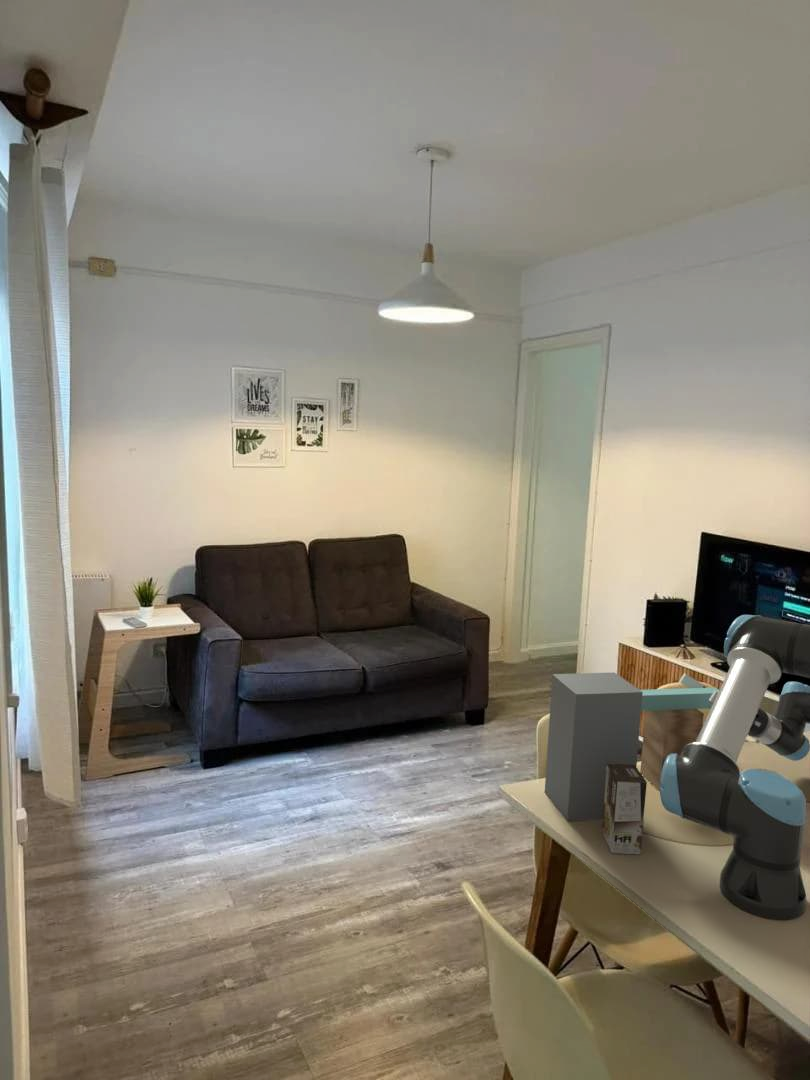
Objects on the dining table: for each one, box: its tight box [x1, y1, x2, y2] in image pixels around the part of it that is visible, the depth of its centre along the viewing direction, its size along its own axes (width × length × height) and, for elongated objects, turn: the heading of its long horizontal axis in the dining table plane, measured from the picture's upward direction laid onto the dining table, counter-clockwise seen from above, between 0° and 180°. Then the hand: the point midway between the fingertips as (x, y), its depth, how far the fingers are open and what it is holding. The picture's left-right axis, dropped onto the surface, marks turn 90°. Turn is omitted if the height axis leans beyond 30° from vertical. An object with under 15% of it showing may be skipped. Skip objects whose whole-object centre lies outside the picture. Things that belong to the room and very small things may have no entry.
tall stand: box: [544, 672, 643, 822], centre depth 179 cm, size 16×14×30 cm
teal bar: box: [639, 687, 720, 712], centre depth 192 cm, size 24×4×4 cm, turn 101°
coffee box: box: [601, 764, 648, 856], centre depth 164 cm, size 9×6×16 cm
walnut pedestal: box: [639, 709, 705, 792], centre depth 193 cm, size 10×10×20 cm
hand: (696, 686), depth 192 cm, fingers open, 13 cm apart
